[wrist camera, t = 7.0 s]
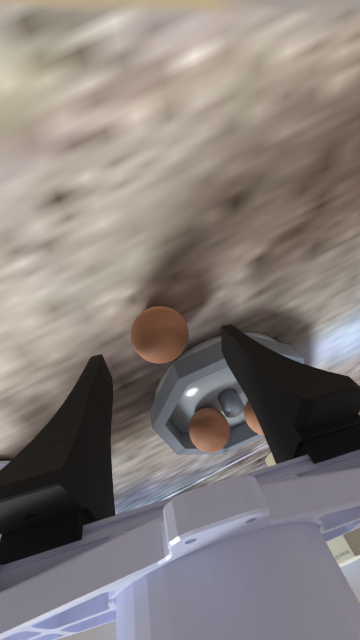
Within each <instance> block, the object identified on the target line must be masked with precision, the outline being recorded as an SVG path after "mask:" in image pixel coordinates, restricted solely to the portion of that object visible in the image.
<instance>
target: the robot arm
mask: <svg viewBox="0 0 360 640" xmlns="http://www.w3.org/2000/svg"><path fill="white" fill-rule="evenodd" d="M221 348H222V354H223V356H224V358H225V361H226V363H227V365H228V367H229V368H230V370H231V372H232V373H233V375H234V377H235V378H236V380H237V382H238V383H239V385H240V387H241V388H242V390H243V392H244V393H245V395H246V397H247V399H248V401H249V403H250V405H251V407H252V409H253V411H254V413H255V415H256V418H257V420H258V422H259V424H260V427H261V429H262V431H263V433H264V436H265V438H266V441H267V443H268V445H269V448H270V450H271V453H272V455H273V458H274V460H275V463H276V465H273V466H269V467H266V468H263V469H260V470H257V471H254V472H250V473H247V474H244V475H241V476H236V477H233V478H229V479H226V480H223V481H220V482H217V483H214V484H211V485H207V486H204V487H201V488H198V489H195V490H192V491H188V492H185V493H183V494H180V495H178V496H175V497H172V498H169V499H165V500H162V501H159V502H156V503H153V504H150V505H146V506H143V507H140V508H137V509H134V510H131V511H128V512H124V513H121V514H118V515H115V507H114V495H113V481H112V464H111V419H112V404H113V385H112V377H111V375H110V372H109V370H108V367H107V365H106V363H105V360H104V358H103V356H102V354H101V355H97V356H92V357H91V358H90V359H89V361H88V363H87V365H86V367H85V369H84V371H83V372H82V374H81V376H80V378H79V380H78V381H77V383H76V385H75V386H74V388H73V390H72V391H71V393H70V394H69V396H68V397H67V399H66V400H65V402H64V403H63V405H62V406H61V407H60V409H59V410H58V411H57V413H56V414H55V415H54V417H53V418H52V419H51V420H50V421H49V423H48V424H47V425H46V426H45V427H44V428H43V429H42V430H41V432H40V433H39V434H38V435H37V436H36V437H35V438H34V439H33V440H32V441H31V442H30V443H29V444H28V445H27V446H26V447H25V448H24V449H23V450H22V451H21V452H20V453H19V454H18V455H17V456H16V457H15V458H14V459H13V460H11V461H0V640H56V639H59V638H62V637H66V636H69V635H72V634H75V633H78V632H82V631H85V630H88V629H91V628H94V627H98V626H101V625H104V624H107V623H110V622H114V621H116V640H360V603H359V601H358V599H357V597H356V596H355V594H354V592H353V590H352V588H351V587H350V585H349V583H348V581H347V580H346V578H345V576H344V574H343V572H342V570H341V569H340V567H339V565H338V563H337V561H336V560H335V558H334V556H333V554H332V552H331V551H330V549H329V547H328V545H327V543H326V542H328V541H330V540H333V539H335V538H337V537H339V536H342V535H344V534H346V533H349V532H351V531H353V530H355V529H358V528H360V415H359V414H358V413H359V411H360V386H359V385H358V384H357V383H355V382H354V381H353V380H352V379H351V378H350V377H348V376H344V375H340V374H336V373H332V372H328V371H324V370H321V369H317V368H314V367H311V366H308V365H305V364H302V363H300V362H297V361H295V360H292V359H290V358H287V357H285V356H283V355H281V354H279V353H277V352H275V351H273V350H271V349H269V348H267V347H265V346H263V345H262V344H260V343H258V342H257V341H255V340H254V339H252V338H250V337H249V336H247V335H246V334H244V333H243V332H241V331H240V330H238V329H237V328H236V327H234V326H233V325H231V324H229V325H225V326H221Z"/></svg>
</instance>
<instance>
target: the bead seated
mask: <svg viewBox="0 0 360 640" xmlns="http://www.w3.org/2000/svg"><path fill="white" fill-rule="evenodd" d="M244 416H245V420H246V422H247V424H248V426H249V427H250V428H251V429H252V430H253V431H254V432H256V433H258V434H260V435H263V436H264V433H263V431H262V429H261V427H260V424H259V422H258V420H257V418H256V415H255V413H254V411H253V409H252V407H251V405H250V403H249V401H247V402H246V405H245V410H244Z"/></svg>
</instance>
